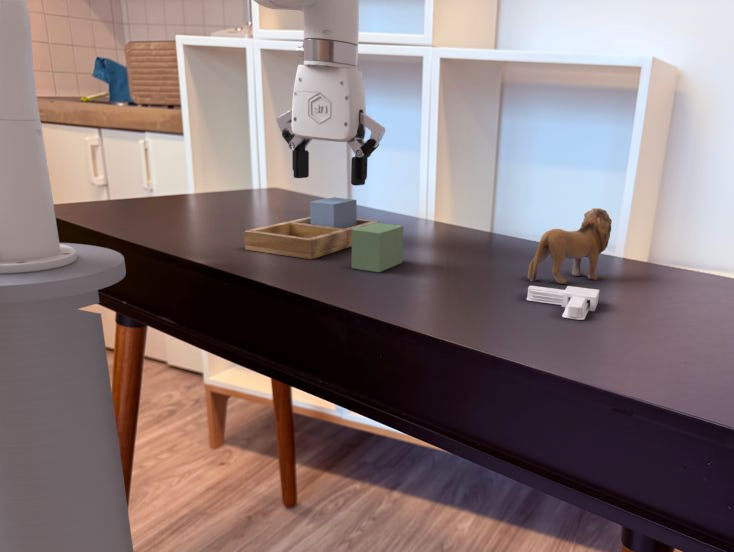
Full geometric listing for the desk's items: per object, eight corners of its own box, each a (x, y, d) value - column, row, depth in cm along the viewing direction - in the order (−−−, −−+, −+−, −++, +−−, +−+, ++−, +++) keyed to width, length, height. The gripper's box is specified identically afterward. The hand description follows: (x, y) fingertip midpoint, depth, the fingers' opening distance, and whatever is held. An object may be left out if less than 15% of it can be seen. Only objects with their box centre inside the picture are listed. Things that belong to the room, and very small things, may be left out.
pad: (379, 272, 84) (380, 233, 83) (351, 268, 85) (351, 229, 84) (402, 262, 91) (403, 225, 89) (376, 258, 92) (376, 222, 90)
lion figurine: (583, 268, 95) (591, 205, 92) (614, 276, 92) (623, 210, 88) (515, 281, 85) (521, 210, 82) (548, 290, 81) (555, 216, 78)
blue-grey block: (334, 238, 99) (333, 204, 98) (310, 234, 101) (310, 201, 99) (356, 231, 106) (356, 199, 104) (334, 228, 107) (334, 197, 105)
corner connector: (516, 311, 72) (517, 296, 71) (530, 294, 79) (532, 281, 79) (589, 321, 70) (591, 306, 70) (597, 303, 77) (599, 289, 77)
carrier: (311, 259, 89) (311, 240, 88) (245, 249, 92) (244, 230, 91) (379, 237, 107) (379, 221, 106) (321, 230, 109) (321, 214, 109)
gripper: (262, 50, 93) (264, 176, 99) (373, 57, 89) (369, 189, 94) (293, 57, 100) (293, 174, 106) (397, 64, 95) (392, 186, 101)
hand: (329, 181), depth 100 cm, fingers open, 9 cm apart
